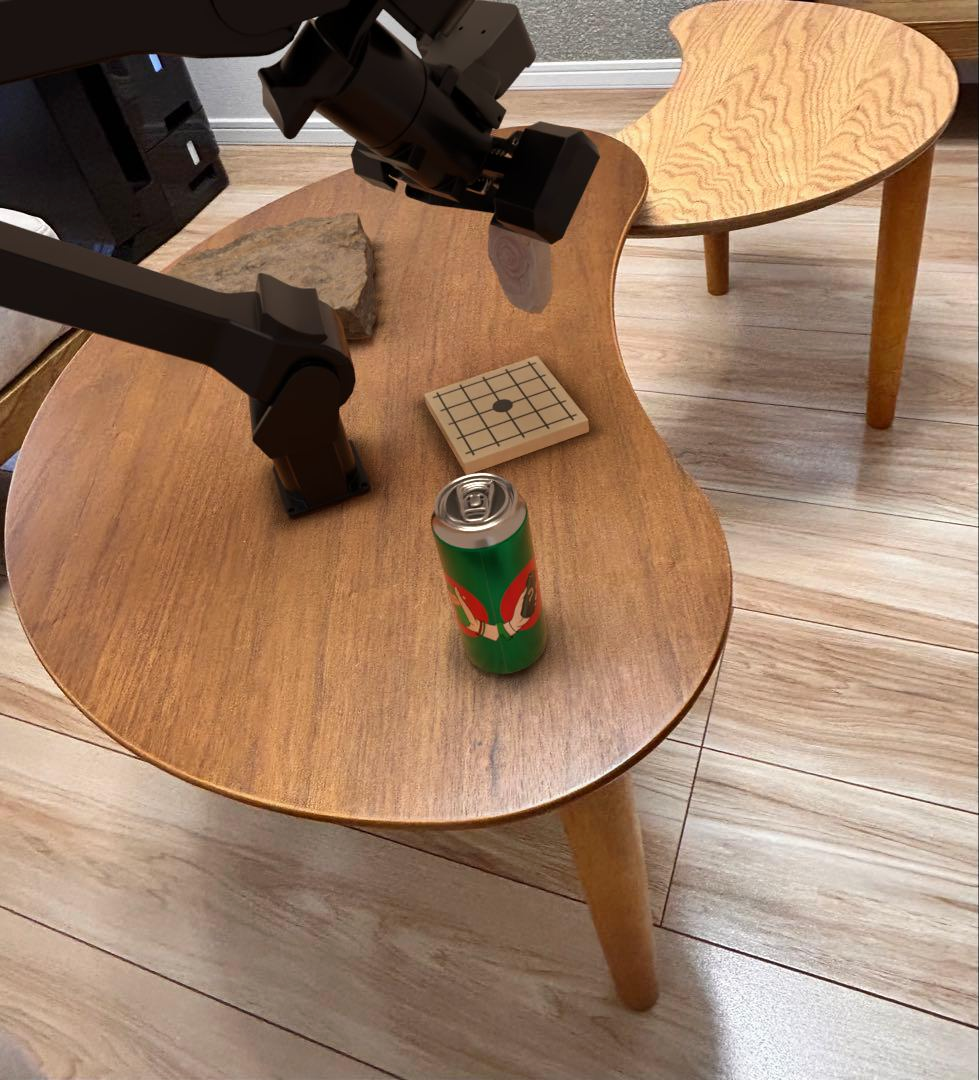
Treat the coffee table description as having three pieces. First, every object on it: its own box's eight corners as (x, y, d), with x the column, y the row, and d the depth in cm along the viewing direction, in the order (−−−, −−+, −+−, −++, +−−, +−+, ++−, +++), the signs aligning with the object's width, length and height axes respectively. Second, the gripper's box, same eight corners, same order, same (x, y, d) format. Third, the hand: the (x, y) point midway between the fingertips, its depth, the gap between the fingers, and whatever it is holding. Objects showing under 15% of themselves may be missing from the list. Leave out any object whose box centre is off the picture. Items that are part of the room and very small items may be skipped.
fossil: (489, 307, 68) (471, 179, 61) (524, 291, 69) (510, 163, 63) (533, 332, 64) (519, 199, 58) (570, 315, 66) (560, 182, 59)
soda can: (544, 608, 54) (522, 461, 45) (551, 674, 50) (528, 528, 42) (464, 617, 54) (427, 474, 46) (465, 684, 51) (425, 541, 42)
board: (589, 432, 65) (588, 418, 64) (466, 475, 64) (463, 463, 63) (538, 367, 72) (537, 354, 71) (426, 405, 71) (423, 392, 70)
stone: (154, 355, 83) (134, 314, 79) (222, 256, 96) (207, 217, 93) (368, 344, 79) (356, 300, 75) (408, 241, 92) (399, 200, 89)
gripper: (570, -29, 43) (693, 129, 56) (347, -48, 54) (492, 88, 67) (476, 184, 45) (615, 290, 58) (279, 125, 56) (432, 226, 68)
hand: (534, 215), depth 63 cm, fingers closed on fossil, 4 cm apart
